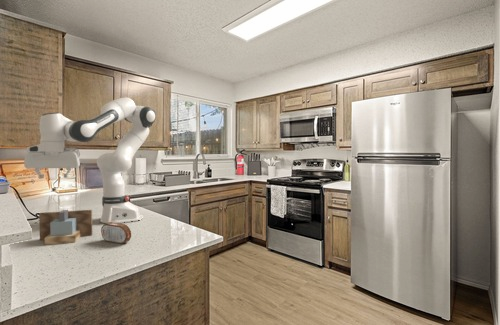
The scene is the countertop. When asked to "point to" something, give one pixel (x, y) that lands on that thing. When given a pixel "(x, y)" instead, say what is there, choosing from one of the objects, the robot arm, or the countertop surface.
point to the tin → (116, 232)
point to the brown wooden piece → (81, 230)
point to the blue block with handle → (63, 225)
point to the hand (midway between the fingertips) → (53, 178)
